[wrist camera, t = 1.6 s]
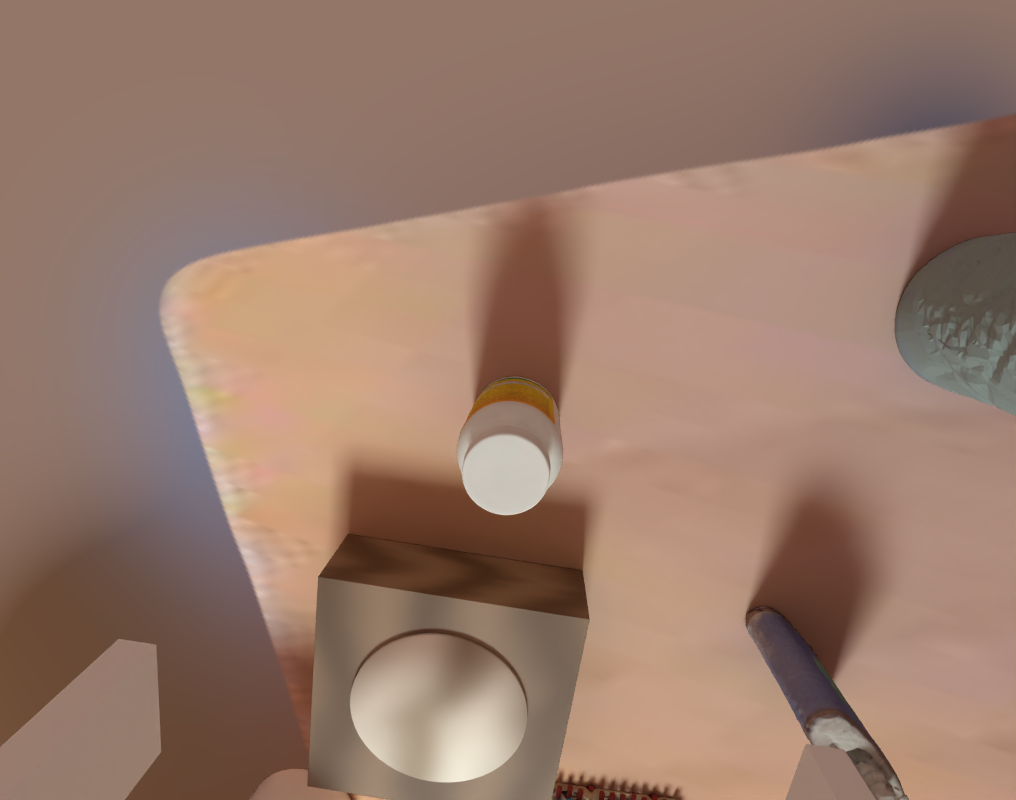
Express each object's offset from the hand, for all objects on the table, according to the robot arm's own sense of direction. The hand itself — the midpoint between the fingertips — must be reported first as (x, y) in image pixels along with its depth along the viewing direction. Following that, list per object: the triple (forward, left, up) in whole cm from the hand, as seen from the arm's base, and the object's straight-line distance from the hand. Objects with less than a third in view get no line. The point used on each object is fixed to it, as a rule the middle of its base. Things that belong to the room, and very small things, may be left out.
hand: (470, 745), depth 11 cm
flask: (-21, +14, -23) cm, 34 cm away
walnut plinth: (+2, +18, -23) cm, 29 cm away
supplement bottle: (0, 0, -23) cm, 23 cm away
